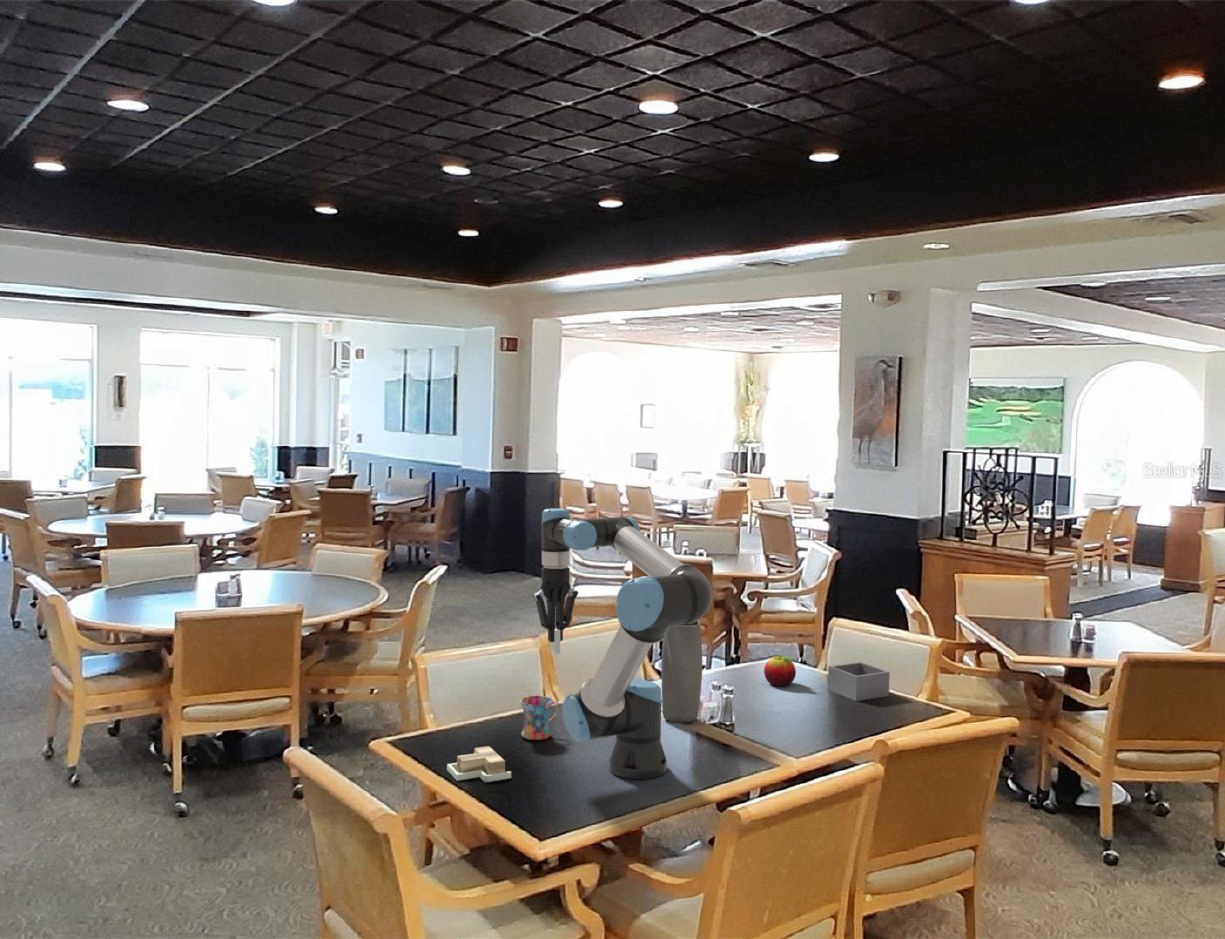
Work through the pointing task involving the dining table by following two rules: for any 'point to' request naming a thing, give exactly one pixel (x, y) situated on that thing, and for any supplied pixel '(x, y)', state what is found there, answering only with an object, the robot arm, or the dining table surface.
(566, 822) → the dining table surface
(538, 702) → the mug
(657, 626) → the robot arm
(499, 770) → the t block
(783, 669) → the fruit
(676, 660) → the vase
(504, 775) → the jig
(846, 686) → the box
